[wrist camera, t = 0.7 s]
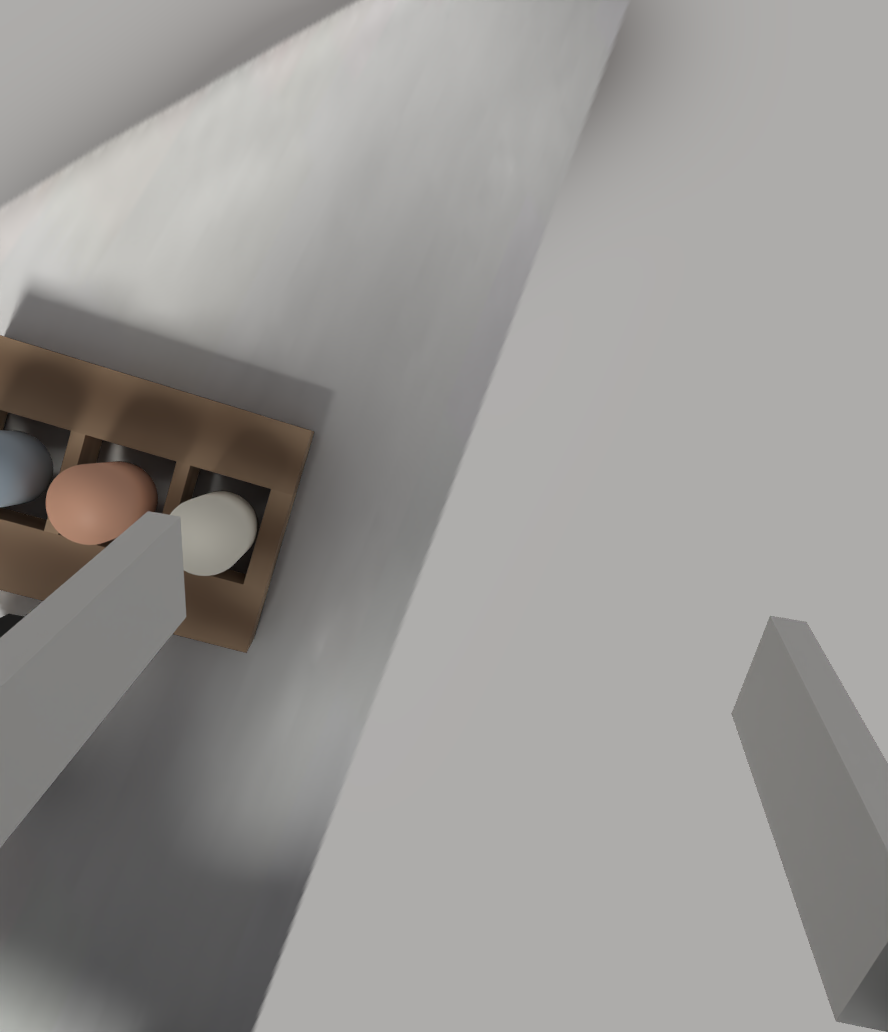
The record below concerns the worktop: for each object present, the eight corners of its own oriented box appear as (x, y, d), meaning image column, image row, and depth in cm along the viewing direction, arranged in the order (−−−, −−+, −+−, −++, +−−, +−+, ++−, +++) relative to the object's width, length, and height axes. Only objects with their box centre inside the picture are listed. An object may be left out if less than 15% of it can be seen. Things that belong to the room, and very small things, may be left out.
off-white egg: (247, 568, 43) (232, 585, 38) (177, 549, 42) (153, 563, 37) (266, 502, 43) (254, 510, 38) (196, 482, 42) (175, 487, 37)
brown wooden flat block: (253, 639, 46) (246, 652, 43) (-55, 559, 43) (-86, 568, 40) (314, 431, 45) (311, 430, 42) (3, 336, 42) (-24, 328, 39)
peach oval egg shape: (147, 541, 42) (119, 554, 37) (74, 521, 41) (36, 532, 36) (166, 473, 42) (140, 477, 37) (93, 452, 41) (57, 453, 36)
